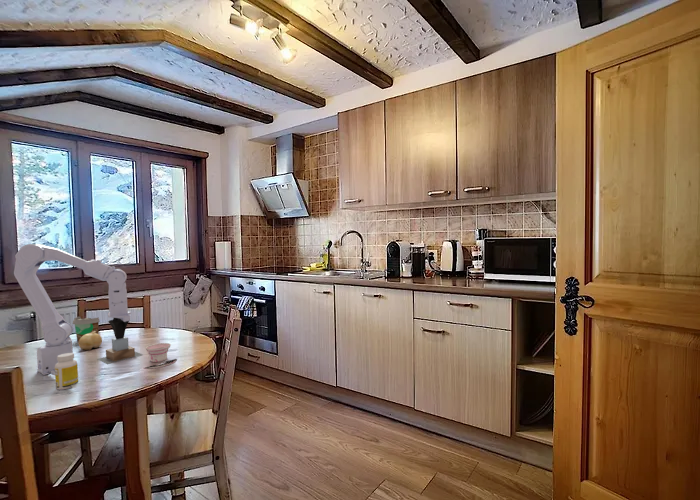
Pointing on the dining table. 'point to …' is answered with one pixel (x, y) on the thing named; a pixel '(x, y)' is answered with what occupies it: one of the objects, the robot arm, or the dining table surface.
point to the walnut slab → (120, 354)
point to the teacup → (159, 354)
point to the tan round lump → (90, 341)
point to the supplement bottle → (66, 371)
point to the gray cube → (120, 344)
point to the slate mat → (117, 360)
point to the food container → (85, 326)
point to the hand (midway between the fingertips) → (119, 338)
